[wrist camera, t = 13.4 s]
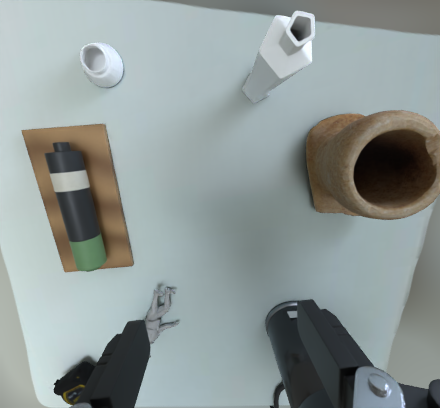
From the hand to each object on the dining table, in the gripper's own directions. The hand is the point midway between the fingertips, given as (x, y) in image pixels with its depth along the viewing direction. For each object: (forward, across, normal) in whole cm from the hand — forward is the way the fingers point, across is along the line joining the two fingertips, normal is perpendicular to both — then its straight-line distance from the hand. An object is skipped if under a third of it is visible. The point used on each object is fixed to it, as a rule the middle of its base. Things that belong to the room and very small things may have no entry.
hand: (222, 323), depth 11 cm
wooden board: (+23, +20, -3) cm, 31 cm away
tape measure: (+24, +28, +30) cm, 48 cm away
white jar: (+23, +12, -21) cm, 34 cm away
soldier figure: (+24, +12, +18) cm, 32 cm away
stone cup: (+23, -18, -4) cm, 30 cm away
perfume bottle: (+23, -8, -16) cm, 29 cm away
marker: (+22, +20, -3) cm, 30 cm away
